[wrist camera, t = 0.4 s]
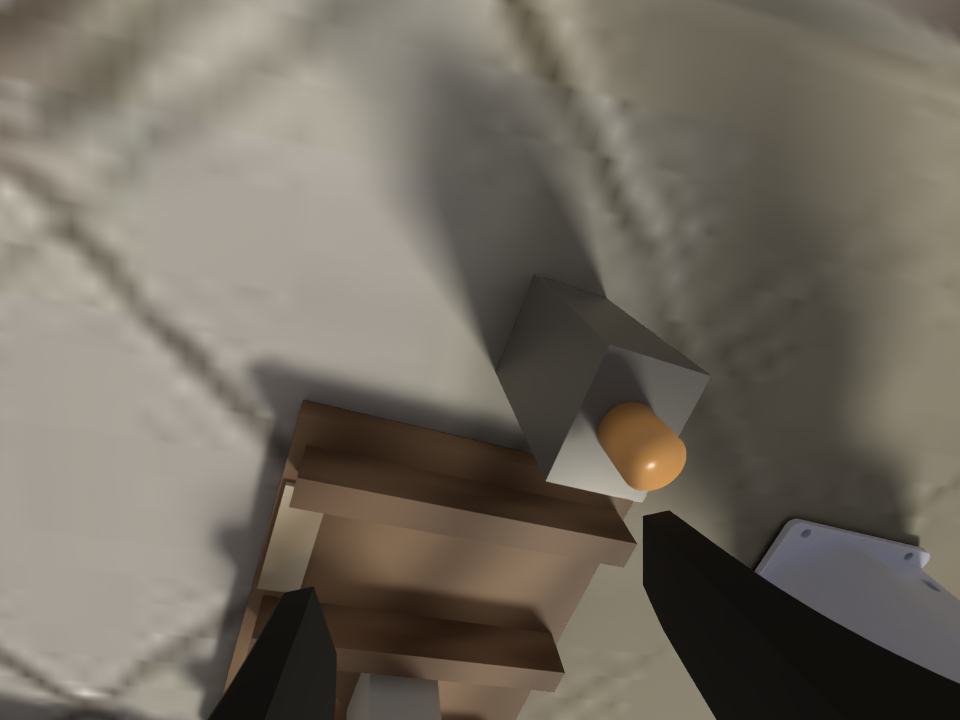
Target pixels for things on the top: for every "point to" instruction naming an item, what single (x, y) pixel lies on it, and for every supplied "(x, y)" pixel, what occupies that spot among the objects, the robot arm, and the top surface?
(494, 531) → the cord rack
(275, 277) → the top surface
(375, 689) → the grey plug
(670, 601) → the robot arm
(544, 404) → the charcoal plug
